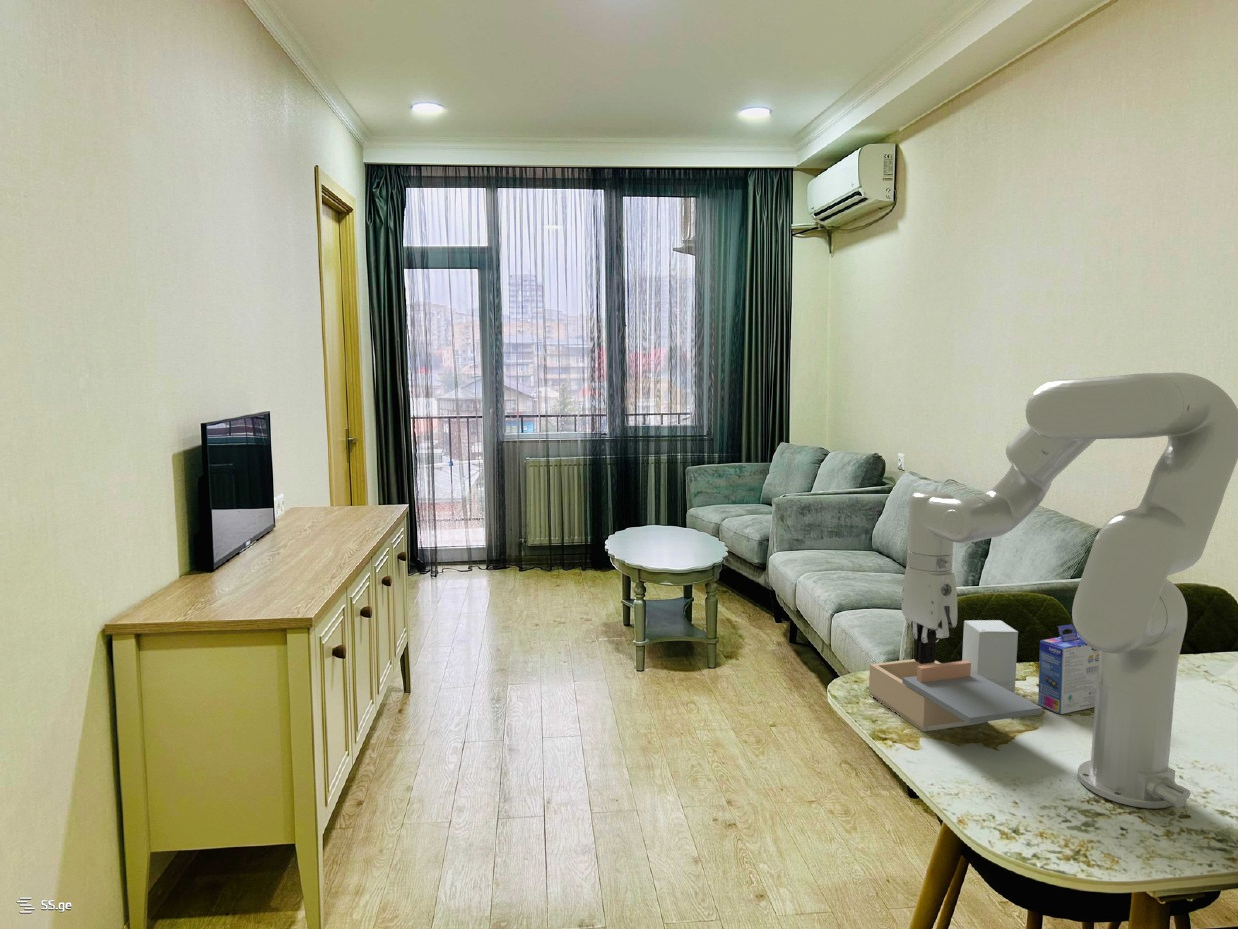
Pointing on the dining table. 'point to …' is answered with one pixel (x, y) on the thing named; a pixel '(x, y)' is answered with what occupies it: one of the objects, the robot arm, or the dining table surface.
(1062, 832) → the dining table surface
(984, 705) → the lid
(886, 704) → the box
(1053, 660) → the ink cartridge box
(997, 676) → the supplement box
